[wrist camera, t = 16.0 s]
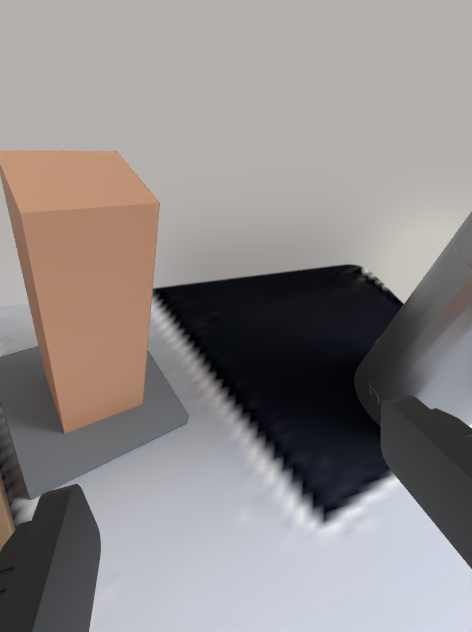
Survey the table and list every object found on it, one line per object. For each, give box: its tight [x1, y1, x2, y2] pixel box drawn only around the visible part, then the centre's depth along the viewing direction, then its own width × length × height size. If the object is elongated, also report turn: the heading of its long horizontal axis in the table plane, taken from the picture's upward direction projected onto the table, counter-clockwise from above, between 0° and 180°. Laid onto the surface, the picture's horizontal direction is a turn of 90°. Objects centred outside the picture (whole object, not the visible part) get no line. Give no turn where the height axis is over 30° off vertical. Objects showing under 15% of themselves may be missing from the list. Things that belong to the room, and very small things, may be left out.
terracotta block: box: [0, 151, 160, 434], centre depth 20 cm, size 5×5×15 cm
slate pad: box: [0, 346, 189, 500], centre depth 25 cm, size 10×10×1 cm
